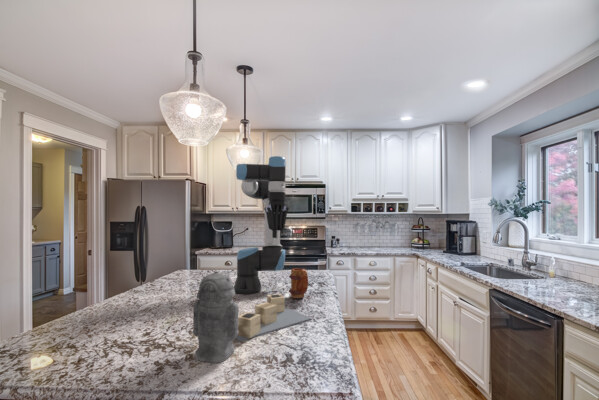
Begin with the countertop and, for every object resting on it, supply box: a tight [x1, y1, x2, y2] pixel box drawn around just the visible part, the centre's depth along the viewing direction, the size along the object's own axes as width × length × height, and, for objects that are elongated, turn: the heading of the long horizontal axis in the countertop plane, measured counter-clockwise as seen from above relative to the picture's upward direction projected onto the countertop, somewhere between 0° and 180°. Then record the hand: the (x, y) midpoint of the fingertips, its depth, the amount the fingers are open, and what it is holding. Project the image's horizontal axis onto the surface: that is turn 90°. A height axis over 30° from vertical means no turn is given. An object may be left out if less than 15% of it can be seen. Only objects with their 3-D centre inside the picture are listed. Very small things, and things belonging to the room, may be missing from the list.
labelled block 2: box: [266, 293, 285, 312], centre depth 126 cm, size 6×6×6 cm
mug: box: [288, 267, 309, 299], centre depth 145 cm, size 15×8×15 cm, turn 25°
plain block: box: [254, 301, 277, 325], centre depth 114 cm, size 6×6×6 cm
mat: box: [234, 306, 312, 342], centre depth 114 cm, size 20×32×1 cm, turn 129°
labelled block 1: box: [238, 311, 260, 339], centre depth 102 cm, size 6×6×6 cm
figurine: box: [192, 270, 240, 364], centre depth 88 cm, size 10×14×25 cm
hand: (276, 245), depth 127 cm, fingers closed
